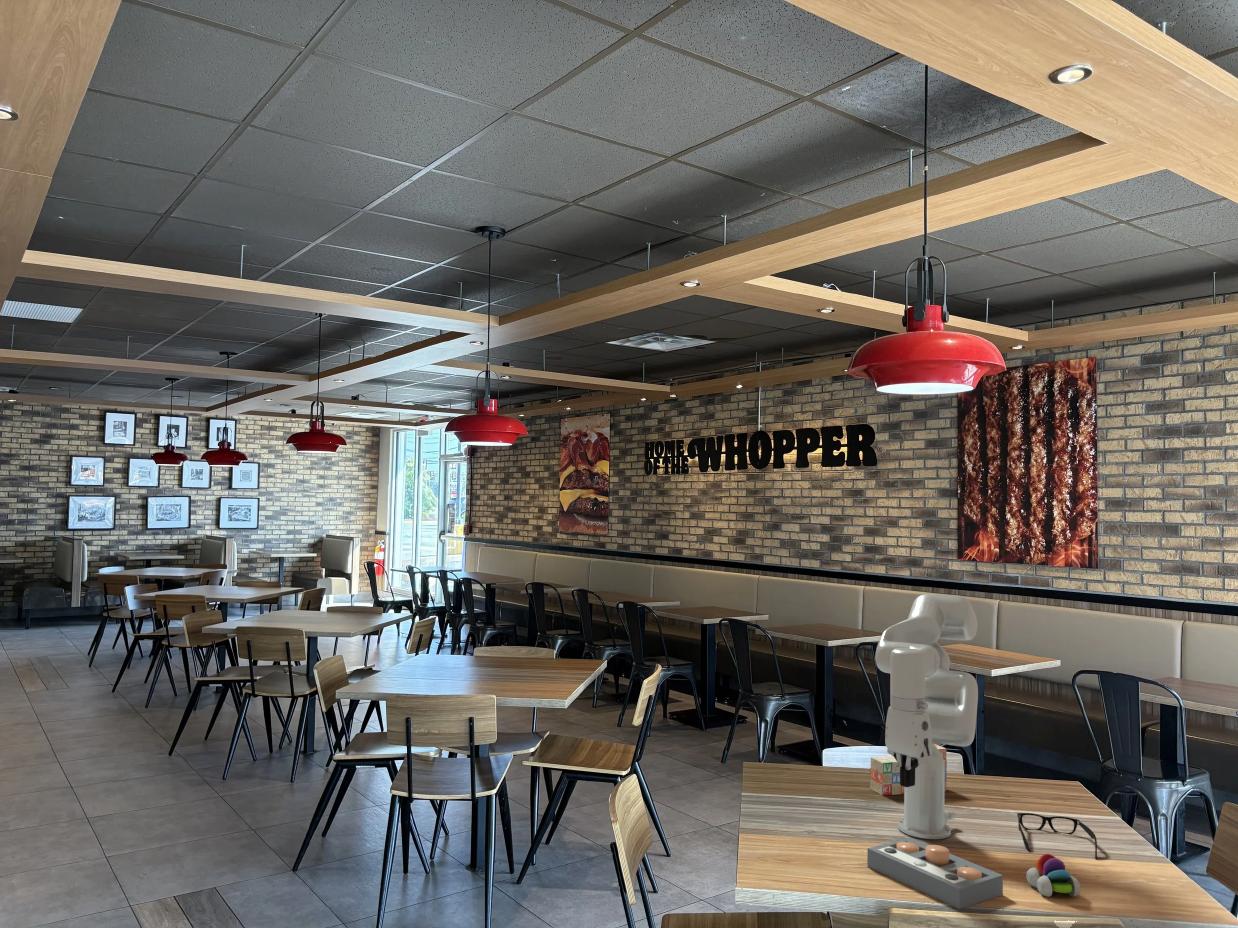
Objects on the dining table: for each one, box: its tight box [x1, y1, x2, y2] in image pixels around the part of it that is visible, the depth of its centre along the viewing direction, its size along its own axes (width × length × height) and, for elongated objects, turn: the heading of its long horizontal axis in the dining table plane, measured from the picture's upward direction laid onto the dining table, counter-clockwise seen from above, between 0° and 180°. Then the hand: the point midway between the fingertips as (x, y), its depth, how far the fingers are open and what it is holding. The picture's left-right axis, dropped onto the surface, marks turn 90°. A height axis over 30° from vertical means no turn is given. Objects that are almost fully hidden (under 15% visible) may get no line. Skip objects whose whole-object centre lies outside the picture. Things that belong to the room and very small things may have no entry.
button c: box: [957, 867, 982, 881], centre depth 182 cm, size 5×5×3 cm
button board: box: [866, 837, 1004, 910], centre depth 188 cm, size 14×24×4 cm, turn 32°
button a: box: [897, 842, 919, 854], centre depth 196 cm, size 5×5×3 cm
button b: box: [926, 844, 950, 867], centre depth 189 cm, size 5×5×3 cm
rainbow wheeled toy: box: [1025, 853, 1081, 898], centre depth 184 cm, size 8×10×7 cm
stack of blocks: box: [869, 743, 948, 796], centre depth 251 cm, size 21×6×12 cm, turn 106°
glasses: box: [1016, 812, 1098, 861], centre depth 213 cm, size 17×18×5 cm
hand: (907, 785), depth 197 cm, fingers closed
